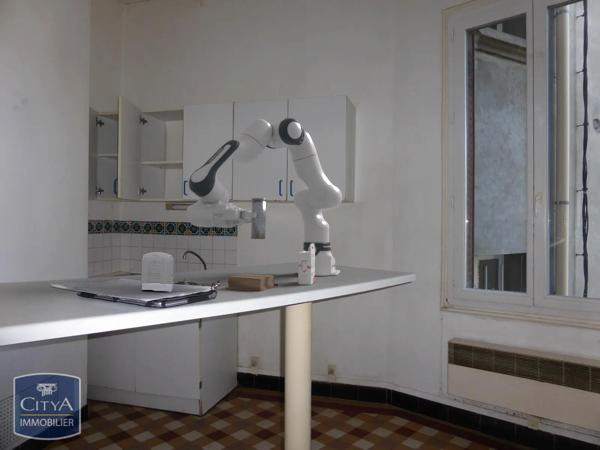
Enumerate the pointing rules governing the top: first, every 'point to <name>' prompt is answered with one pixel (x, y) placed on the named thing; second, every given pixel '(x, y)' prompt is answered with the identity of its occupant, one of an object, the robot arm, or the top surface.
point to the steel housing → (258, 218)
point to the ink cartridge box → (307, 266)
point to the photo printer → (157, 268)
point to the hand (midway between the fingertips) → (261, 215)
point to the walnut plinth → (251, 282)
